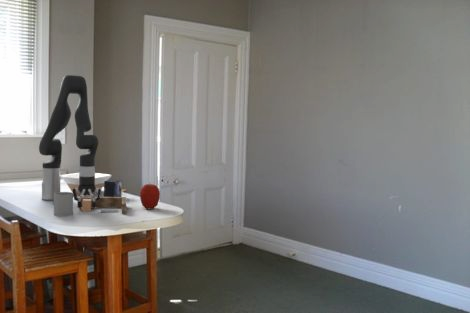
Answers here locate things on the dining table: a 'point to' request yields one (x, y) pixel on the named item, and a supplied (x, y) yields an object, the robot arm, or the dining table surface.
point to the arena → (108, 202)
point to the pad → (109, 210)
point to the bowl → (73, 180)
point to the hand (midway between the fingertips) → (86, 208)
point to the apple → (149, 196)
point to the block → (86, 204)
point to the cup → (63, 204)
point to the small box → (112, 188)
